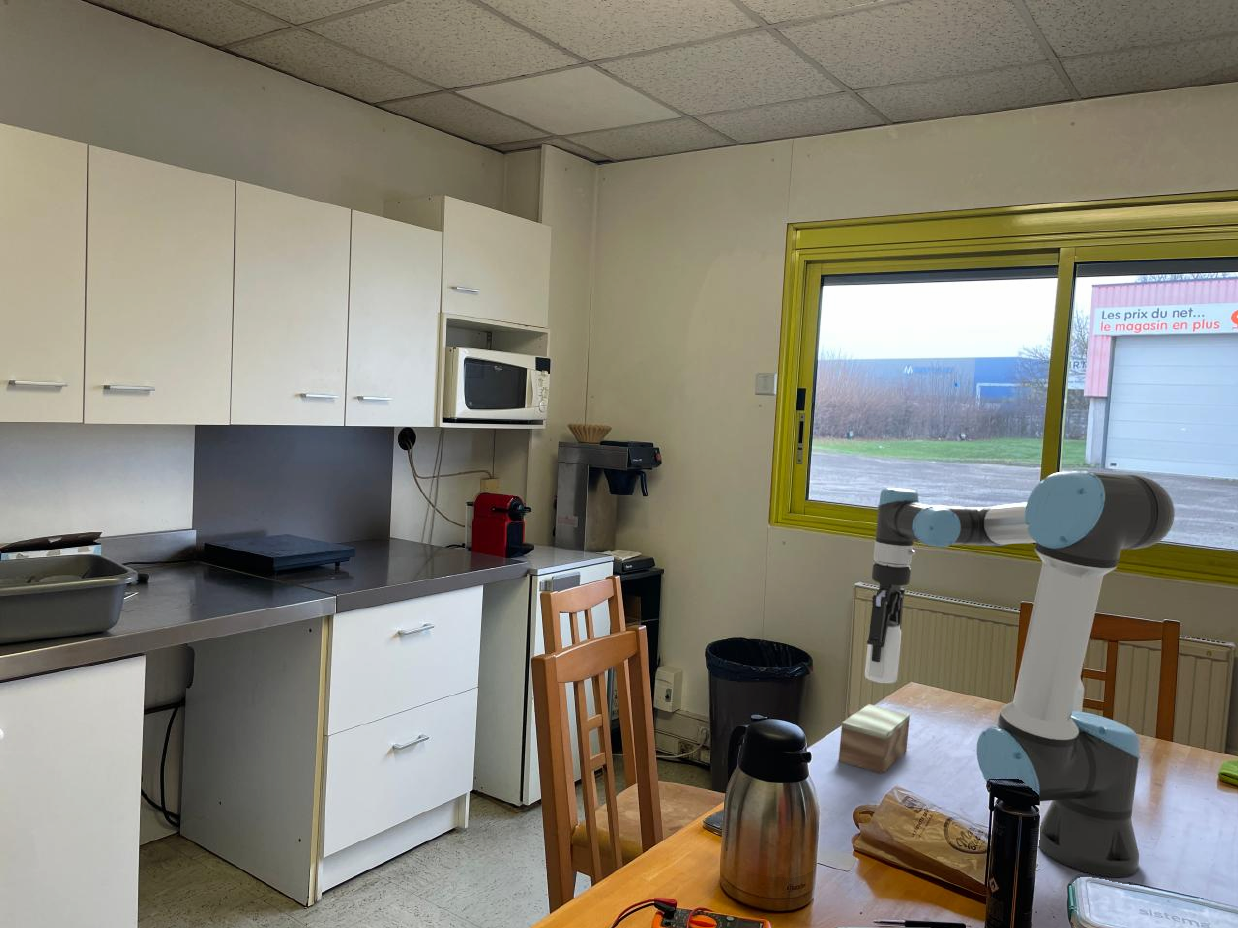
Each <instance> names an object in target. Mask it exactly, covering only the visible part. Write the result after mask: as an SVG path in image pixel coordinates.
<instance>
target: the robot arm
mask: <svg viewBox="0 0 1238 928" xmlns="http://www.w3.org/2000/svg"><path fill="white" fill-rule="evenodd" d="M877 509H878V510H877V517H876V518H877V519H876V521H877V522H876V531H875V541H874V548H873V549H874V551H873V557H872V558H873V560H874V561H875V562H873V563H872V570H871V571H872V572H871V573H872V574H871V579H872V580H873V581H874V582H876V583H879V588H878V590H877V592H876V594H873V596H872V600H871V602H872V604H871V605H872V607H871V616H870V621H869V628H870V630H869V629H868V636H869V638H867V640H866V644H867V645H868V644H870V645H871V655H870V665H869V676H873V677H877V678H881V679H882V678H883V669H884V659H885V649H886V646H884V643H885V638H886V633H887V628H888V623H889V621H893V622H896V623H899V624H900V630H901V631H902V621H903V609H904V599H905V593H906V589H904V588H901V586H907V585H909V584H910V582H911V571H912V568H911V566H910V564H912V561H913V556H915V554H916V551H915V550H913V549H914V544H915V542H918V543H921V544H923V545H926V546H928V547H936V548H947V547H949V546H950V545H952V546H953V545H955V546H957V545H958V546H959V545H960V546H961V545H962V546H964V545H965V546H967V545H969V546H986V547H999V546H1000V547H1001V546H1005V545H1012V544H1013V545H1014V544H1031V543H1032V544H1033V543H1035V546H1034V552H1035V553H1036V554H1037V556H1038V557H1039V559H1040V560H1041V562H1042V564H1041V569H1040V574H1039V579H1038V582H1037V587H1036V592H1035V597H1034V602H1033V606H1032V611H1031V615H1030V620H1029V625H1028V629H1027V634H1026V639H1025V645H1024V648H1023V653H1022V658H1021V663H1020V667H1019V672H1018V678H1017V681H1016V687H1015V692H1014V695H1013V700H1012V701H1010V702H1008V703H1006V704H1004V705H1003V706H1002V707H1001V708H1000V712H999V717H998V721H997V725H996V726H994V725H992V726H988V727H987V728H985V730H982V731H981V732H980V734H979V735H978V739H977V742H976V760H977V764H978V767H979V769H980V771H981V773H982V776H983V779H984V780H985V782H986V783H987V781H988V780H989V779H996V778H1005V779H1019V780H1022V781H1023V782H1024V783H1025V784H1026V785H1027V786H1029V787H1030V788H1032V790H1033V791H1035V792H1036V793H1037V794H1038V795H1039V797H1040V801H1039V802H1047V801H1051V803H1050V805H1049V807H1048V809H1047V810H1046V812H1045V814H1044V816H1043V818H1042V819H1041V822H1040V824H1041V826H1040V825H1039V826H1040V840H1039V846H1038V847H1039V849H1040V850H1041V851H1042V852H1043V853H1045V854H1046V855H1047V856H1048V857H1049V858H1051V859H1053V860H1055V861H1056V862H1059V863H1060V864H1063V865H1064V866H1067V867H1069V866H1070V867H1069V868H1071V867H1072V869H1074V868H1075V870H1077V869H1078V870H1077V871H1080V870H1081V871H1080V872H1083V871H1086V872H1085V873H1087V872H1088V873H1087V874H1091V873H1092V875H1096V876H1101V877H1102V876H1103V877H1108V878H1109V877H1110V878H1125V877H1129V876H1132V875H1135V874H1136V873H1137V872H1138V870H1139V862H1140V852H1139V848H1138V843H1137V839H1136V835H1135V830H1134V827H1133V822H1132V814H1133V808H1134V807H1133V806H1134V800H1135V794H1136V793H1135V792H1136V783H1137V778H1138V770H1139V769H1138V768H1139V763H1140V762H1139V760H1140V758H1141V755H1140V743H1141V741H1140V737H1139V736H1138V733H1137V731H1136V732H1135V730H1133V728H1131V727H1128V725H1125V724H1122V723H1120V722H1118V721H1116V720H1113V719H1110V718H1107V717H1104V716H1100V715H1098V714H1093V713H1090V712H1089V713H1088V712H1084V711H1082V712H1080V711H1073V707H1074V703H1075V698H1076V694H1077V689H1078V685H1079V681H1080V678H1081V675H1082V671H1083V666H1084V663H1085V662H1084V661H1085V657H1086V654H1087V649H1088V646H1089V645H1088V644H1089V640H1090V635H1091V632H1092V627H1093V623H1094V620H1095V619H1094V618H1095V614H1096V610H1097V605H1098V601H1099V597H1100V592H1101V587H1102V584H1103V578H1104V576H1105V575H1107V574H1108V573H1110V572H1113V571H1114V570H1116V569H1117V568H1118V564H1119V559H1120V557H1121V556H1120V555H1121V551H1122V550H1138V549H1145V548H1149V547H1151V546H1153V545H1155V544H1157V543H1159V542H1161V541H1162V540H1163V539H1165V537H1166V536H1167V535H1168V534H1169V532H1170V531H1171V529H1172V526H1173V525H1174V520H1175V514H1176V513H1175V512H1176V511H1175V506H1174V502H1173V500H1172V498H1171V496H1170V495H1169V493H1168V491H1167V490H1166V489H1165V488H1164V487H1163V486H1161V485H1160V484H1159V483H1158V482H1156V481H1154V480H1152V479H1150V478H1149V477H1145V476H1141V475H1138V474H1137V475H1136V474H1119V473H1104V472H1095V471H1094V472H1093V471H1092V472H1091V471H1082V470H1074V471H1061V472H1060V471H1059V472H1055V473H1052V474H1050V475H1048V476H1047V477H1045V478H1044V479H1042V480H1041V481H1040V482H1038V483H1037V484H1036V486H1035V487H1034V488H1033V490H1031V493H1030V495H1029V497H1028V499H1027V501H1026V502H1019V503H1009V504H1002V505H1000V504H999V505H991V506H981V507H980V506H979V507H978V506H975V507H973V506H970V507H969V506H956V505H955V506H952V505H951V506H949V505H931V504H927V503H919V493H918V492H917V491H916V490H912V489H905V488H899V487H886V488H883V489H882V490H881V492H880V495H879V504H878V505H877ZM876 638H877V639H876ZM901 639H902V635H901Z"/></svg>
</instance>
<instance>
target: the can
mask: <svg viewBox="0 0 1238 928" xmlns="http://www.w3.org/2000/svg"><path fill="white" fill-rule="evenodd" d="M869 630H870V627H869V629H868V631H869ZM901 636H902V629H901V630H900V624H899V623H896V622H893V621H889V623H888V628H887V633H886V638H885V643H884V646H886V649H885V659H884V669H883V678H882V679H881V678H877V677H873V676H869V665H870V655H871V645H870V644H867V648H866V657H865V669H864V678H865V679H866V680H868V681H870V682H872V683H875V684H881V685H893V684H895V683H896V682H897V680H898V674H899V673H898V672H899V664H900V654H901V653H900V652H901V645H902V644H901V642H902V638H901ZM868 638H869V635H868ZM868 638H867V639H868ZM876 639H877V638H876Z"/></svg>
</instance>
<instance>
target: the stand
mask: <svg viewBox="0 0 1238 928" xmlns="http://www.w3.org/2000/svg"><path fill="white" fill-rule="evenodd" d="M910 720H911V714H909V713H904V712H900V711H897V710H893V709H889V708H885V707H881V706H877V705H874V704H870V703H868V704H866V706H864V707H862V708H861V709H860V710H858V711H857V712H856V713H853V714H852V715H851V716H849V717H848V718H846V719H844V721H842V722H841V731H840V742H839V743H840V744H839V753H838V761H839V762H842V763H845V764H848V765H852V766H855V767H859V768H862V769H865V770H868V771H872V772H876V773H878V774H884V772H886V770H888V769H889V768H890V767H891V766H892V765H893V764H895V762H897V761H898V760H899V759H900V758H901V757H902V756H903V755H904V754H905V753H907V750H908V749H907V748H908V740H909V727H910Z"/></svg>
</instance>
